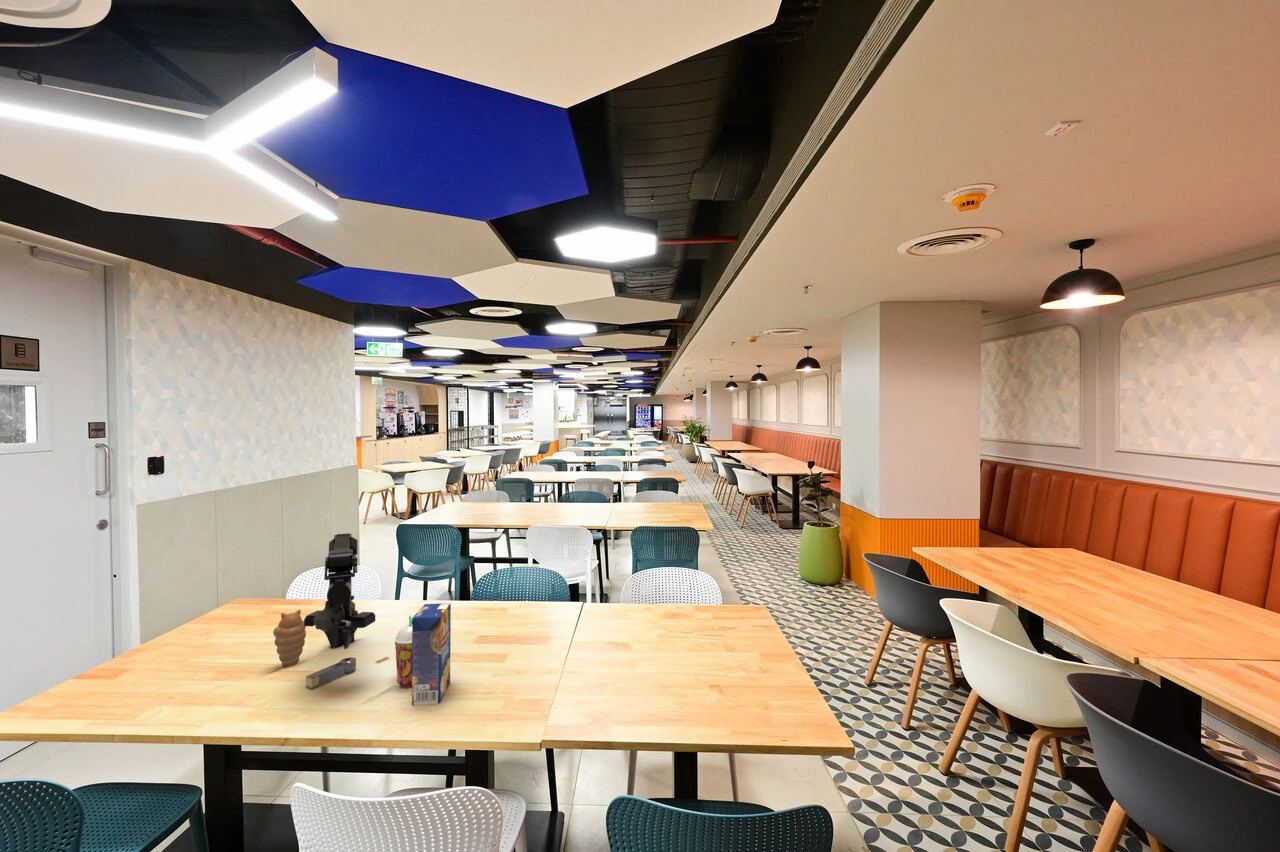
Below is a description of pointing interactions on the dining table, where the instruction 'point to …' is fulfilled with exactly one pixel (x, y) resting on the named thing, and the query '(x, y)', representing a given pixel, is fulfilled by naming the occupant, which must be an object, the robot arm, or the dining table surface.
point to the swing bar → (331, 673)
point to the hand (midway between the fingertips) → (339, 648)
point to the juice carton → (431, 653)
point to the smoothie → (404, 655)
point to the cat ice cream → (290, 638)
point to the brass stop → (382, 660)
